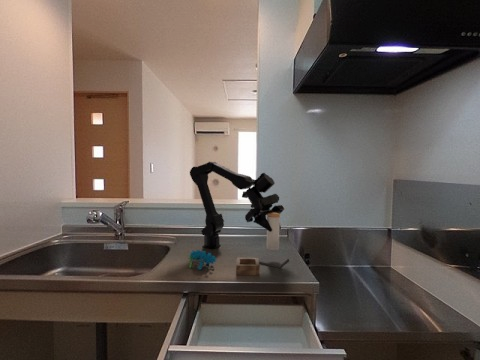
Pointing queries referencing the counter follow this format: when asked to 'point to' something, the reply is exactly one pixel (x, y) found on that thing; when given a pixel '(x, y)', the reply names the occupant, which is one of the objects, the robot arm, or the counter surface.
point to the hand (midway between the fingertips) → (275, 230)
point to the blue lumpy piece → (201, 258)
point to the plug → (273, 231)
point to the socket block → (247, 266)
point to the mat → (273, 260)
